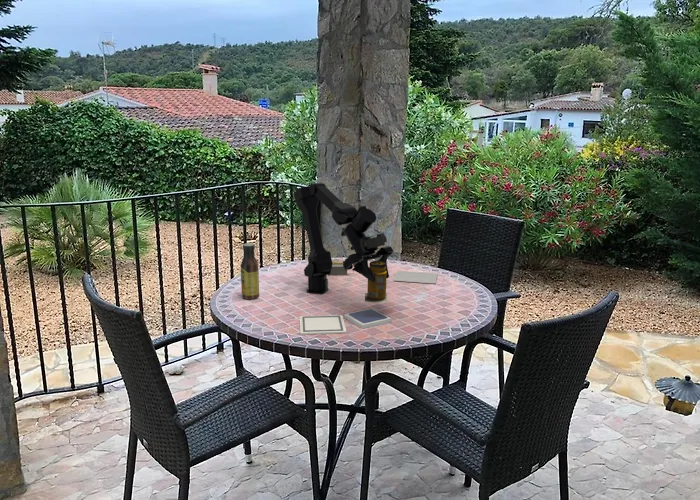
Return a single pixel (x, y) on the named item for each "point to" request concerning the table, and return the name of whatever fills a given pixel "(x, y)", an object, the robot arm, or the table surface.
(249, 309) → the table surface
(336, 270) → the platform
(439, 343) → the table surface
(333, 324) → the marked board
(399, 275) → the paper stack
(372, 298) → the condiment
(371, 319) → the ink pad
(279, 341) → the table surface
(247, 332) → the table surface
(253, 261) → the sauce bottle
